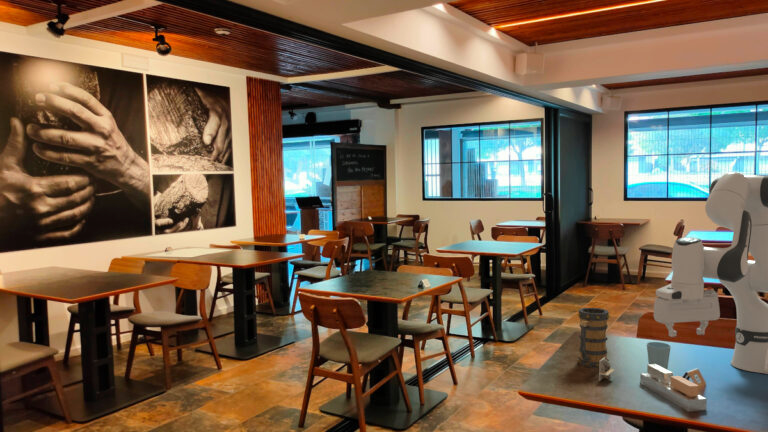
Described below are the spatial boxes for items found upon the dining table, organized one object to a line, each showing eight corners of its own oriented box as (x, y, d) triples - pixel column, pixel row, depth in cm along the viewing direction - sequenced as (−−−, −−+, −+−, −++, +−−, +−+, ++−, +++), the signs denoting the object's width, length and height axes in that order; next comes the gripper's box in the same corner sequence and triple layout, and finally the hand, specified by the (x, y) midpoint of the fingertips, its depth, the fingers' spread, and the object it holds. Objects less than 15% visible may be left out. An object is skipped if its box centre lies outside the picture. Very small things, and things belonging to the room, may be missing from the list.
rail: (656, 382, 196) (656, 362, 196) (706, 410, 172) (706, 387, 172) (640, 383, 195) (640, 363, 195) (688, 411, 172) (688, 388, 171)
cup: (675, 375, 203) (675, 346, 202) (659, 378, 200) (659, 349, 199) (657, 369, 210) (657, 340, 209) (641, 372, 207) (641, 343, 206)
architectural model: (614, 379, 201) (614, 358, 200) (608, 385, 195) (608, 363, 195) (604, 377, 203) (604, 357, 202) (597, 383, 198) (598, 362, 197)
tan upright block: (678, 397, 183) (679, 375, 182) (698, 408, 174) (699, 385, 173) (670, 398, 182) (670, 376, 182) (689, 409, 173) (689, 386, 173)
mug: (616, 362, 218) (617, 310, 217) (598, 374, 205) (599, 318, 204) (583, 355, 227) (583, 305, 225) (564, 366, 214) (564, 313, 213)
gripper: (710, 287, 181) (709, 330, 182) (650, 290, 178) (650, 334, 179) (725, 291, 175) (724, 336, 176) (663, 294, 172) (663, 340, 173)
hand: (686, 335), depth 177 cm, fingers open, 8 cm apart
